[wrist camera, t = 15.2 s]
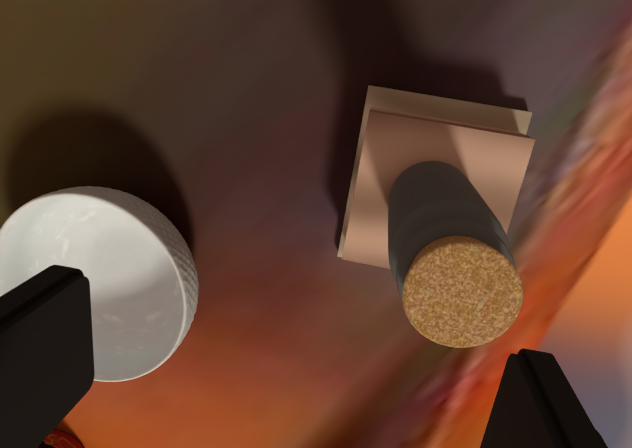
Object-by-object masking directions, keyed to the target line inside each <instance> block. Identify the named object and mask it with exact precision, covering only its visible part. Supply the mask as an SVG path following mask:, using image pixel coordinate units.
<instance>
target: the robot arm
mask: <svg viewBox="0 0 632 448" xmlns="http://www.w3.org/2000/svg"><path fill="white" fill-rule="evenodd" d="M94 374H95V372H94V354H93V335H92V316H91V298H90V283H89V279H88V278H87V277H86V276H84V274H83V272H82V271H81V270H80V269H77V268H72V267H66V266H60V265H52V266H49V267H48V268H46V269H44V270H43V271H41V272H40V273H38V274H36V275H35V276H33V277H31V278H30V279H28V280H27V281H25V282H23V283H22V284H20V285H18V286H17V287H15V288H13V289H12V290H10V291H9V292H7V293H5V294H4V295H2V296H0V448H37V447H38V446H39V445H40V444H41V443H42V442H43V441H44V439H45V438H46V437H47V436H48V435H49V434H50V433H51V432H52V431H53V430H54V428H55V427H56V426H57V425H58V424H59V423H60V422H61V421H62V420H63V418H64V417H65V416H66V415H67V414H68V413H69V412H70V411H71V410H72V408H73V407H74V406H75V405H76V404H77V403H78V402H79V401H80V400H81V398H82V397H83V396H84V395H85V394H86V393H87V392H88V390H89V389H90V387H91V386H92V383H93V380H94ZM480 448H608V447H607V446H606V444H605V442H604V440H603V439H602V437H601V435H600V434H599V433H598V432H597V430H595V428H594V426H593V425H592V423H591V421H590V419H589V417H588V416H587V414H586V412H585V410H584V409H583V407H582V405H581V403H580V402H579V400H578V398H577V396H576V394H575V393H574V391H573V389H572V388H571V386H570V384H569V382H568V380H567V379H566V377H565V375H564V373H563V371H562V370H561V368H560V366H559V364H558V363H557V361H556V359H555V357H554V356H553V355H552V354H550V353H546V352H540V351H535V350H529V349H521V350H520V351H519V352H518V354H510V356H509V357H508V360H507V363H506V366H505V369H504V373H503V376H502V379H501V382H500V385H499V389H498V392H497V395H496V398H495V402H494V405H493V408H492V411H491V414H490V418H489V421H488V424H487V427H486V430H485V434H484V437H483V440H482V443H481V446H480Z"/></svg>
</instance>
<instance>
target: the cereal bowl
mask: <svg viewBox="0 0 632 448" xmlns="http://www.w3.org/2000/svg"><path fill="white" fill-rule="evenodd" d="M52 265H60V266H66V267H72V268H77V269H80V270H81V271H82V272H83V274H84V276H86V277H87V278H88V279H89V283H90V298H91V316H92V335H93V354H94V372H95V374H94V380H95V381H103V382H119V381H126V380H131V379H134V378H138V377H140V376H143V375H145V374H147V373H149V372H151V371H153V370H154V369H156V368H157V367H159V366H160V365H161V364H163V363H164V362H165V361H166V360H167V359H168V358H169V357H170V356H171V355H172V354H173V352H174V351H175V350H176V349H177V347H178V346H179V345H180V343H181V342H182V340H183V338H184V337H185V336H186V334H187V332H188V330H189V328H190V325H191V323H192V321H193V319H194V314H195V312H196V306H197V303H198V295H199V293H198V286H199V283H198V276H197V271H196V265H195V263H194V260H193V258H192V254H191V252H190V249H189V248H188V246H187V243H186V242H185V240H184V238H183V237H182V235H181V234H180V233H179V231H178V230H177V229H176V227H175V226H174V225H173V224H172V223H171V221H169V220H168V219H167V217H165V216H164V215H163V214H162V213H161V212H159V210H158V209H156V208H155V207H153V206H152V205H150V204H149V203H147V202H145V201H144V200H141V199H140V198H138V197H135V196H133V195H132V194H128V193H126V192H122V191H120V190H116V189H111V188H104V187H93V186H85V187H82V186H81V187H74V188H67V189H62V190H58V191H55V192H50V193H48V194H44V195H42V196H40V197H37V198H34V199H32V200H31V201H29V202H27V203H26V204H24V205H22V206H21V207H20V208H18V209H17V210H16V211H15V212H14V213H13V214H12V215H11V216H10V217H9V218H8V219H7V220H6V222H5V223H4V224H3V226H2V228H1V229H0V296H2V295H4V294H5V293H7V292H9V291H10V290H12V289H13V288H15V287H17V286H18V285H20V284H22V283H23V282H25V281H27V280H28V279H30V278H31V277H33V276H35V275H36V274H38V273H40V272H41V271H43V270H44V269H46V268H48V267H49V266H52Z"/></svg>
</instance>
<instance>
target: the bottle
mask: <svg viewBox="0 0 632 448" xmlns="http://www.w3.org/2000/svg"><path fill="white" fill-rule="evenodd" d="M388 255H389V264H390V268H391V271H392V274H393V276H394V278H395V280H396V282H397V287H398V290H399V293H400V296H401V298H402V301H403V307H404V311H405V313H406V315H407V317H408V319H409V321H410V322H411V324H412V325H413V326H414V327H415V328H416V330H417V331H418V332H420V333H421V334H422V335H423V336H425V337H426V338H428V339H430V340H431V341H434V342H436V343H438V344H442V345H445V346H449V347H465V348H466V347H472V346H477V345H482V344H485V343H487V342H490V341H492V340H493V339H495V338H497V337H498V336H500V335H502V334H503V333H504V332H505V331H506V330H507V329H508V328H509V327H510V326H511V325H512V323H513V322H514V321H515V319H516V317H517V315H518V314H519V311H520V308H521V304H522V299H523V289H522V282H521V278H520V276H519V273H518V272H517V270H516V268H515V264H514V260H513V257H512V255H511V253H510V251H509V243H508V239H507V235H506V233H505V231H504V229H503V227H502V225H501V223H500V222H499V220H498V219H497V217H496V216H495V215H494V213H493V212H492V210H491V209H490V208H489V206H488V205H487V204H486V202H485V201H484V199H483V198H482V197H481V195H480V194H479V193H478V191H477V190H476V189H475V187H474V186H473V185H472V183H471V182H470V181H469V180H468V178H467V177H466V176H465V175H464V174H463V173H462V172H461V171H460V170H458V169H457V168H456V167H454V166H452V165H450V164H447V163H445V162H440V161H425V162H420V163H417V164H415V165H412V166H410V167H409V168H407V169H406V170H404V171H403V172H402V173H401V174H400V175H399V176H398V177H397V179H396V180H395V182H394V183H393V186H392V188H391V190H390V195H389V201H388Z"/></svg>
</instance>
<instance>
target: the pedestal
mask: <svg viewBox="0 0 632 448" xmlns="http://www.w3.org/2000/svg"><path fill="white" fill-rule="evenodd" d="M531 116H532V112H529V111H523V110H517V109H511V108H505V107H499V106H493V105H487V104H481V103H474V102H468V101H462V100H456V99H450V98H444V97H438V96H432V95H426V94H420V93H414V92H408V91H402V90H396V89H389V88H383V87H377V86H371V85H368V91H367V96H366V102H365V107H364V113H363V118H362V124H361V129H360V135H359V140H358V146H357V151H356V157H355V162H354V168H353V173H352V179H351V184H350V190H349V195H348V201H347V206H346V212H345V217H344V223H343V228H342V234H341V239H340V245H339V250H338V257H342V259H343V260H348V261H353V262H358V263H363V264H368V265H373V266H378V267H383V268H388V269H391V268H390V264H389V255H388V201H389V195H390V190H391V188H392V186H393V183H394V182H395V180H396V179H397V177H398V176H399V175H400V174H401V173H402V172H403V171H404V170H406V169H407V168H409V167H410V166H412V165H415V164H417V163H420V162H425V161H440V162H445V163H447V164H450V165H452V166H454V167H456V168H457V169H458V170H460V171H461V172H462V173H463V174H464V175H465V176H466V177H467V178H468V180H469V181H470V182H471V183H472V185H473V186H474V187H475V189H476V190H477V191H478V193H479V194H480V195H481V197H482V198H483V199H484V201H485V202H486V204H487V205H488V206H489V208H490V209H491V210H492V212H493V213H494V215H495V216H496V217H497V219H498V220H499V222H500V223H501V225H502V227H503V229H504V231H505V233H506V234H507V230H508V227H509V224H510V221H511V217H512V214H513V211H514V208H515V204H516V201H517V198H518V195H519V191H520V188H521V185H522V181H523V178H524V175H525V172H526V168H527V165H528V162H529V159H530V155H531V152H532V149H533V146H534V142H535V139H533V138H531V137H529V136H527V135H526V132H527V129H528V126H529V122H530V119H531Z"/></svg>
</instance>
